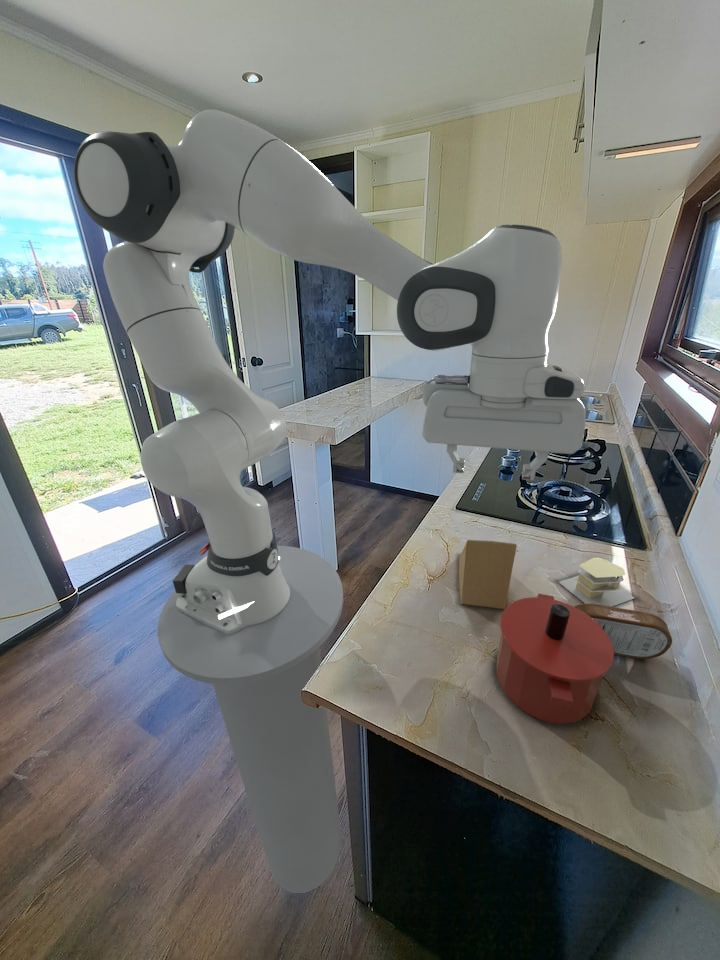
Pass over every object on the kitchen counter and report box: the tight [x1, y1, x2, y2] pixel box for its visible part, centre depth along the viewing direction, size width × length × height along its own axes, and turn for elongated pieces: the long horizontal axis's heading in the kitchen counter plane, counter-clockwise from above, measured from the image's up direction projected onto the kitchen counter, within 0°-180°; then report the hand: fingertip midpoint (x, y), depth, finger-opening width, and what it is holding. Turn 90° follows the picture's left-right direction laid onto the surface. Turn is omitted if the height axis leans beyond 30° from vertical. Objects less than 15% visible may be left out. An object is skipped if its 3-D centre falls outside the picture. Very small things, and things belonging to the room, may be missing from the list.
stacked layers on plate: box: [558, 557, 635, 607], centre depth 75 cm, size 10×9×6 cm
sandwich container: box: [458, 539, 518, 610], centre depth 77 cm, size 9×15×15 cm, turn 168°
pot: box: [495, 593, 604, 725], centre depth 57 cm, size 14×19×10 cm
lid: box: [499, 596, 615, 682], centre depth 54 cm, size 15×15×6 cm
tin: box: [572, 603, 673, 660], centre depth 62 cm, size 15×3×8 cm, turn 73°
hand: (492, 474), depth 55 cm, fingers open, 8 cm apart
